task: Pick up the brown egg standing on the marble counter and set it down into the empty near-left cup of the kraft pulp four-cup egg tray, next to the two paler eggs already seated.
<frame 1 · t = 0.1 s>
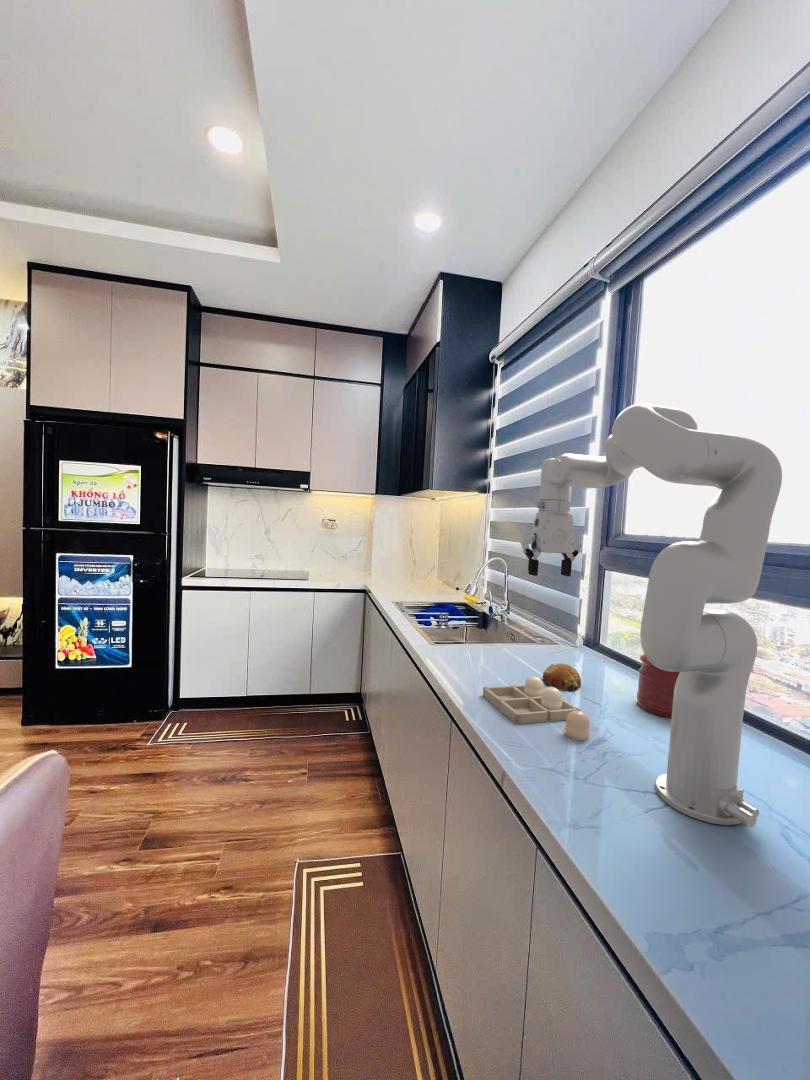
hand: (549, 575, 117), 31 cm above the table, tool pointing down, fingers open, 9 cm apart
canister: (665, 709, 114), on the table
egg tray: (528, 708, 109), on the table
bread roll: (561, 687, 126), on the table
brown egg: (576, 738, 95), on the table
pale egg b: (533, 699, 114), point 1 cm above the table, touching egg tray
pale egg a: (550, 711, 107), point 1 cm above the table, touching egg tray
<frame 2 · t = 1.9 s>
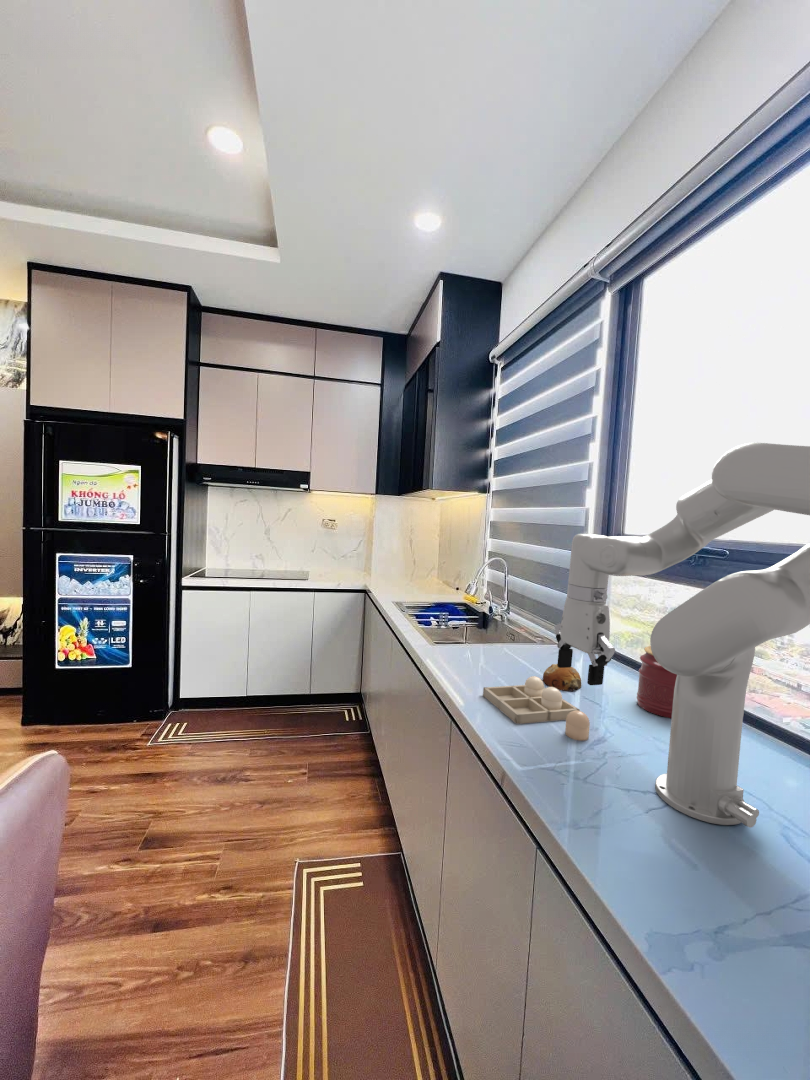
hand: (578, 675, 95), 13 cm above the table, tool pointing down, fingers open, 9 cm apart
nothing on the table moved.
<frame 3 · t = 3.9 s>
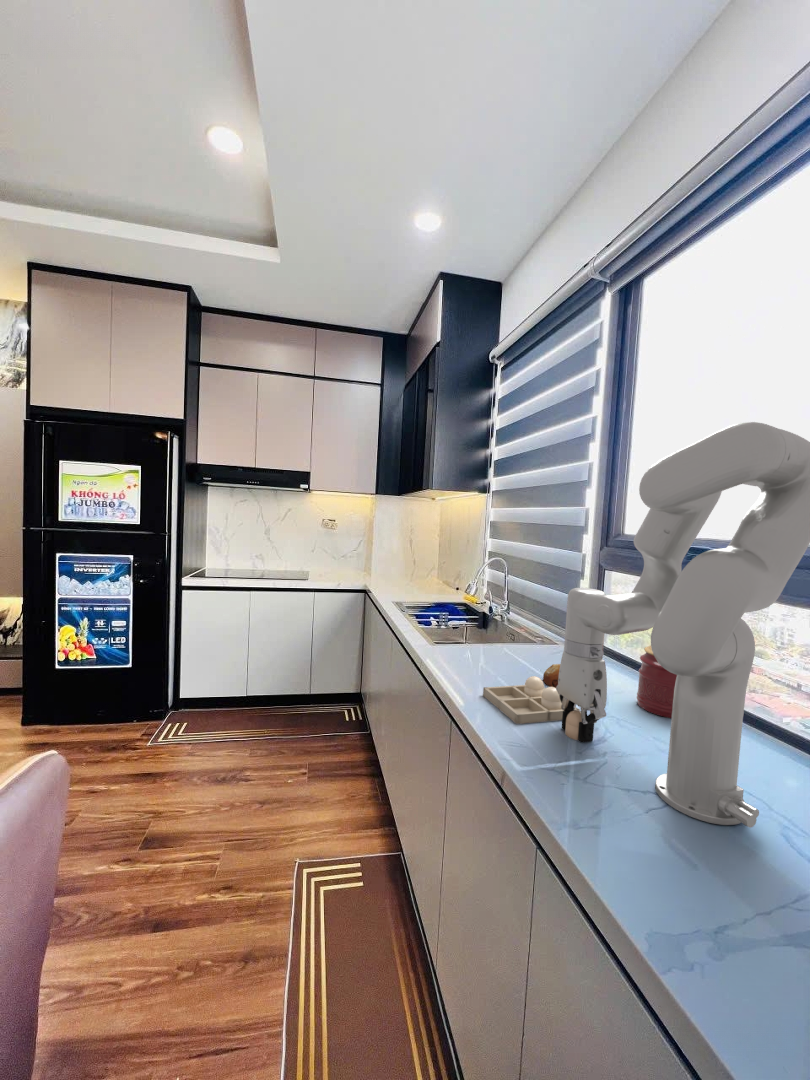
hand: (576, 734, 95), 1 cm above the table, tool pointing down, fingers closed on brown egg, 4 cm apart
brown egg: (576, 738, 95), on the table, touching gripper
everything else where it was.
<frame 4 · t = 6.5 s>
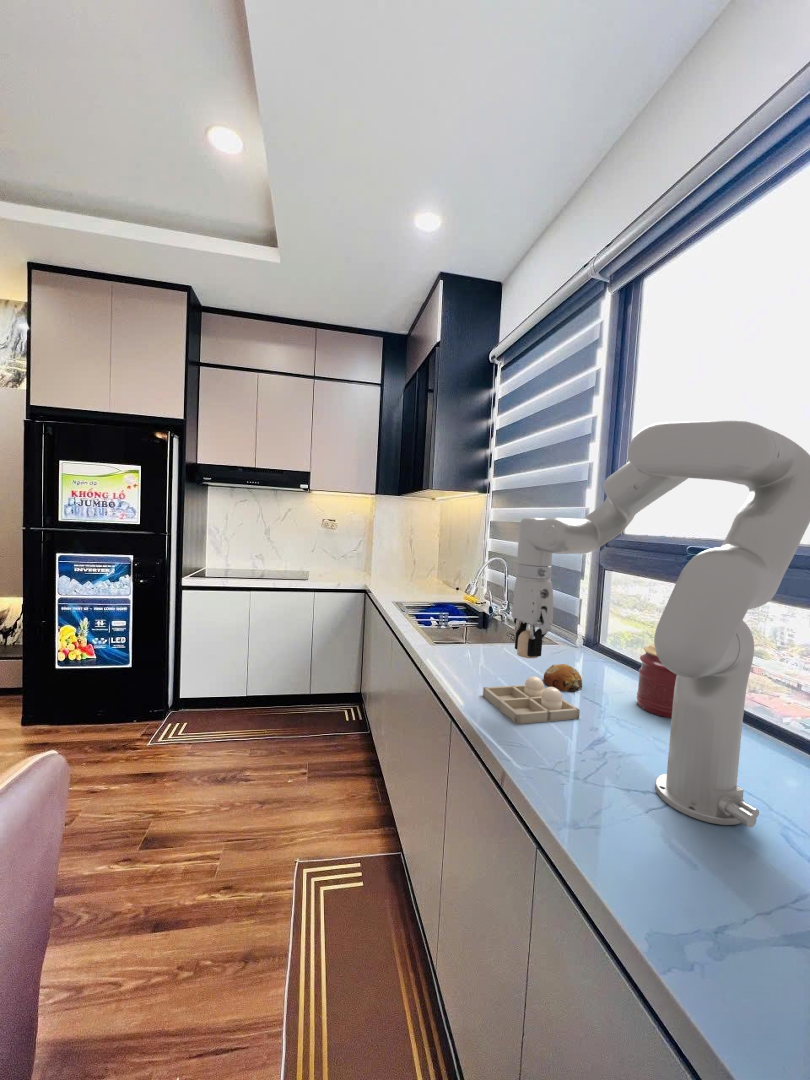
hand: (527, 651, 104), 15 cm above the table, tool pointing down, fingers closed on brown egg, 4 cm apart
brown egg: (527, 655, 104), point 14 cm above the table, touching gripper
everything else where it was.
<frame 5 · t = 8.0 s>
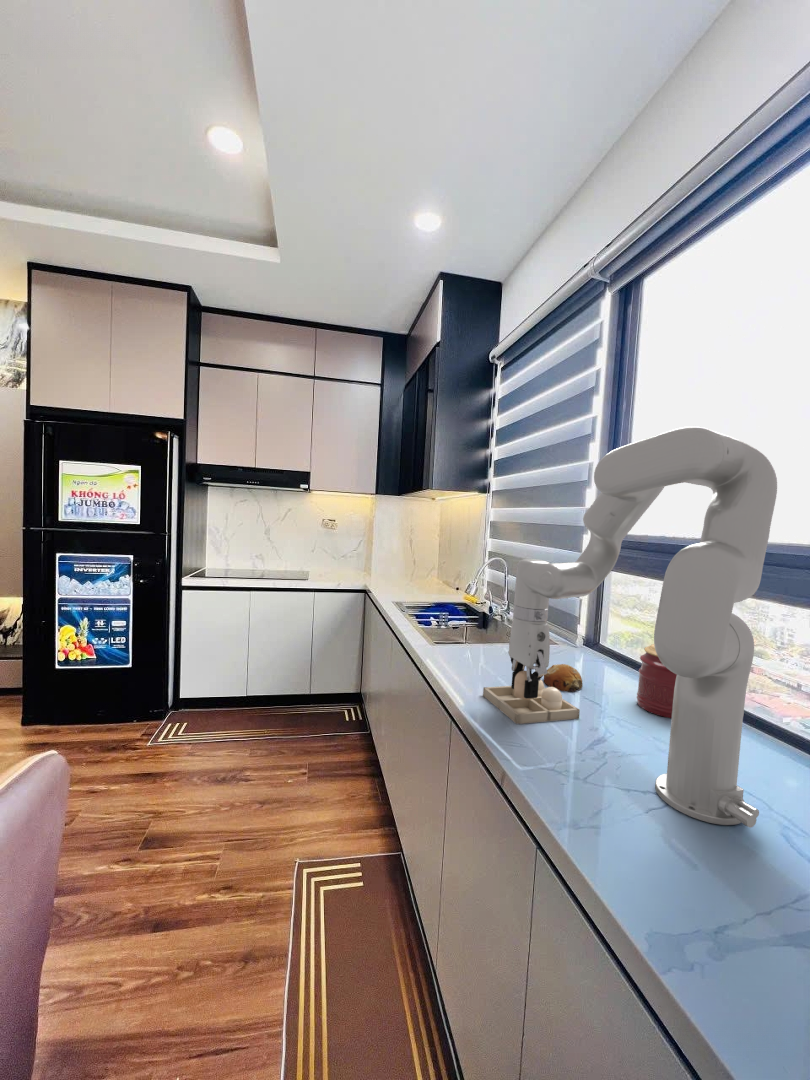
hand: (524, 692, 105), 6 cm above the table, tool pointing down, fingers closed on brown egg, 4 cm apart
brown egg: (523, 695, 105), point 5 cm above the table, touching gripper
everything else where it was.
when the fingers open (4 cm above the table, at t = 9.2 s): brown egg drops 2 cm, resting on egg tray.
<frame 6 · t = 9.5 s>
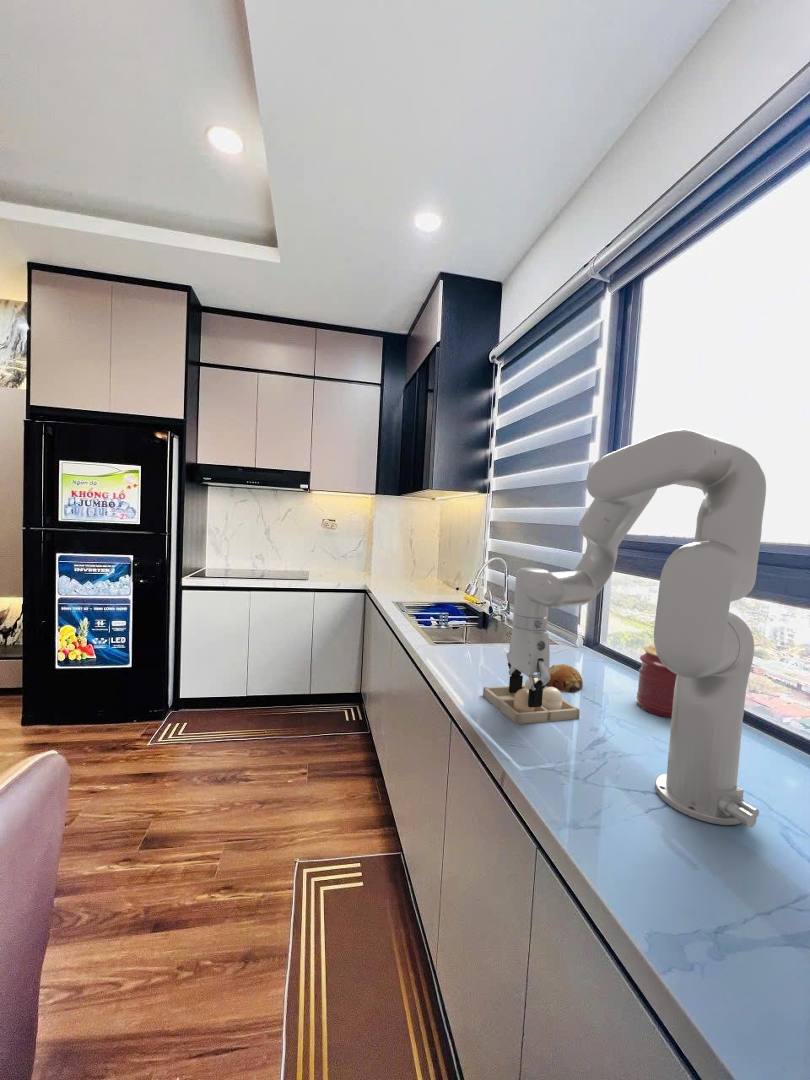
hand: (524, 698, 104), 4 cm above the table, tool pointing down, fingers open, 7 cm apart
brown egg: (523, 713, 105), point 1 cm above the table, touching egg tray
everything else where it was.
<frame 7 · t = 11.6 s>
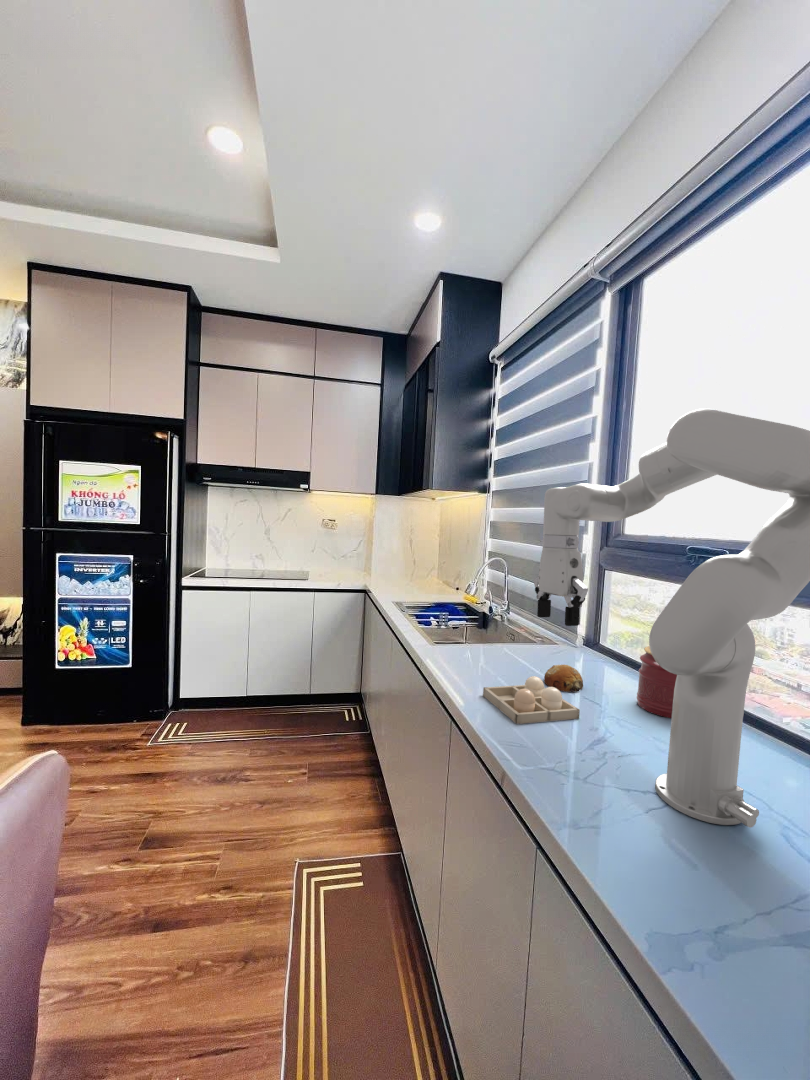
hand: (557, 621, 102), 23 cm above the table, tool pointing down, fingers open, 9 cm apart
nothing on the table moved.
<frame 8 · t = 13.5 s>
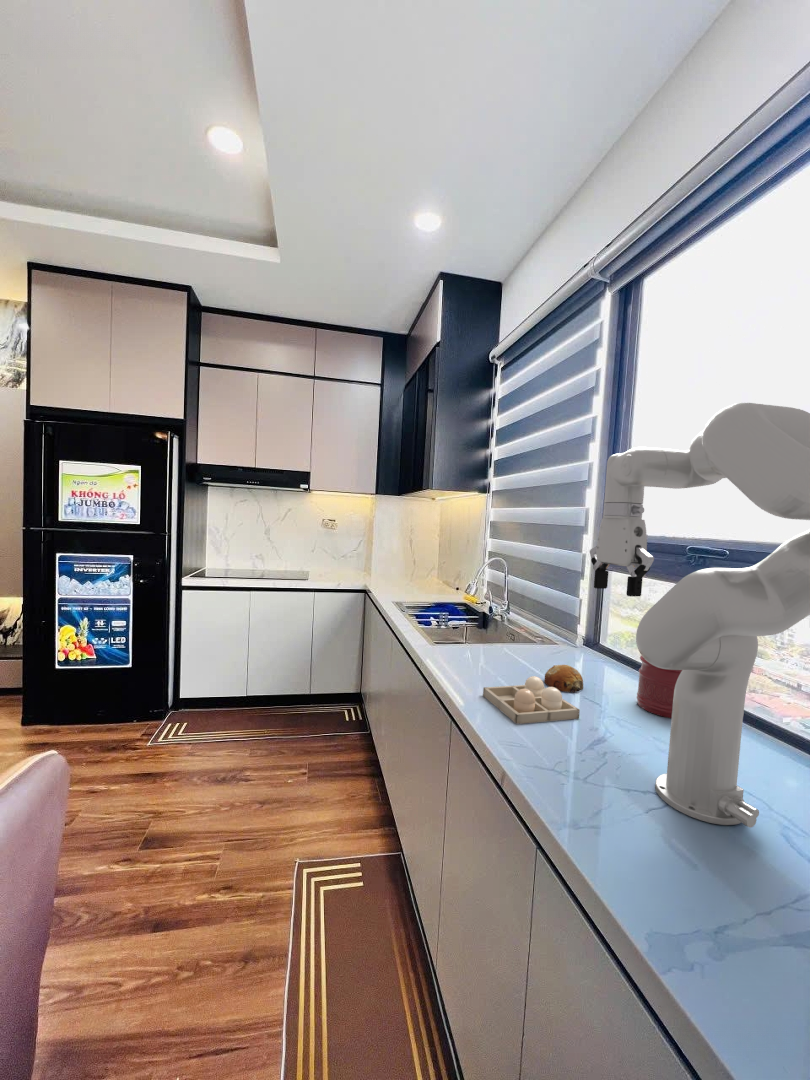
hand: (616, 592, 99), 30 cm above the table, tool pointing down, fingers open, 9 cm apart
at the end: brown egg 0.1 cm from the target spot on the egg tray, point 0.6 cm above the egg tray's base; brown egg tilted 0°; the gripper is holding nothing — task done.
